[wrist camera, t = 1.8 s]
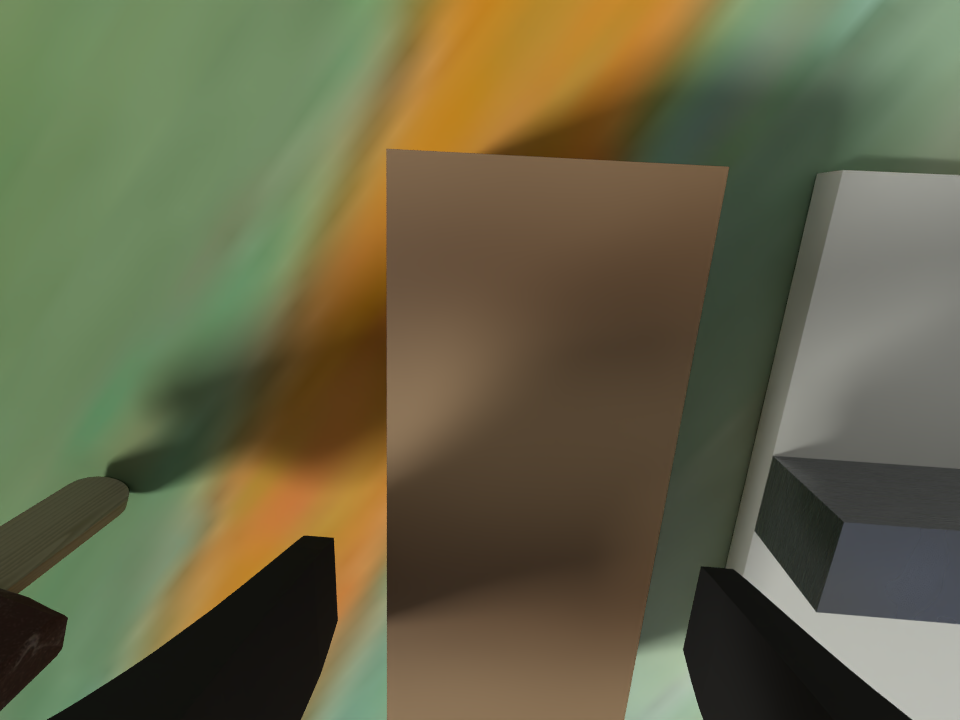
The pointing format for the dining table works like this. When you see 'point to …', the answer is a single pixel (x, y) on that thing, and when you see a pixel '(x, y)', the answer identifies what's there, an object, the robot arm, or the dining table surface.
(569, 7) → the dining table surface
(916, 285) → the fulcrum board
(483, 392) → the walnut beam
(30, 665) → the ice cream bar
